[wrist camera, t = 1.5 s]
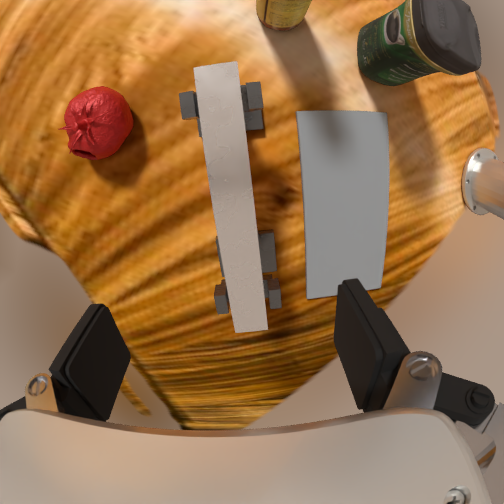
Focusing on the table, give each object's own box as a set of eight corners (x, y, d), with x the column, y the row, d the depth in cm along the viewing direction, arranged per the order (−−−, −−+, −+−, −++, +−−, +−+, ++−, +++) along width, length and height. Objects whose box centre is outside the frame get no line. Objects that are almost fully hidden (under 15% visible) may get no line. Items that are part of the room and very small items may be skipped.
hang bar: (238, 70, 21) (237, 61, 18) (265, 310, 32) (267, 329, 29) (200, 75, 21) (193, 67, 18) (236, 313, 32) (235, 332, 29)
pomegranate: (117, 77, 29) (84, 64, 20) (152, 127, 32) (125, 126, 24) (70, 122, 30) (32, 124, 22) (101, 171, 34) (66, 184, 25)
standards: (257, 85, 30) (264, 62, 19) (276, 267, 41) (287, 319, 30) (195, 93, 30) (170, 76, 19) (222, 272, 41) (215, 327, 30)
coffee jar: (401, 92, 30) (493, 85, 13) (353, 77, 30) (435, 49, 13) (402, 37, 26) (484, 8, 9) (355, 21, 25) (424, -31, 9)
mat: (384, 112, 32) (386, 112, 31) (378, 285, 43) (380, 287, 43) (295, 111, 32) (296, 111, 31) (306, 296, 44) (307, 299, 43)
